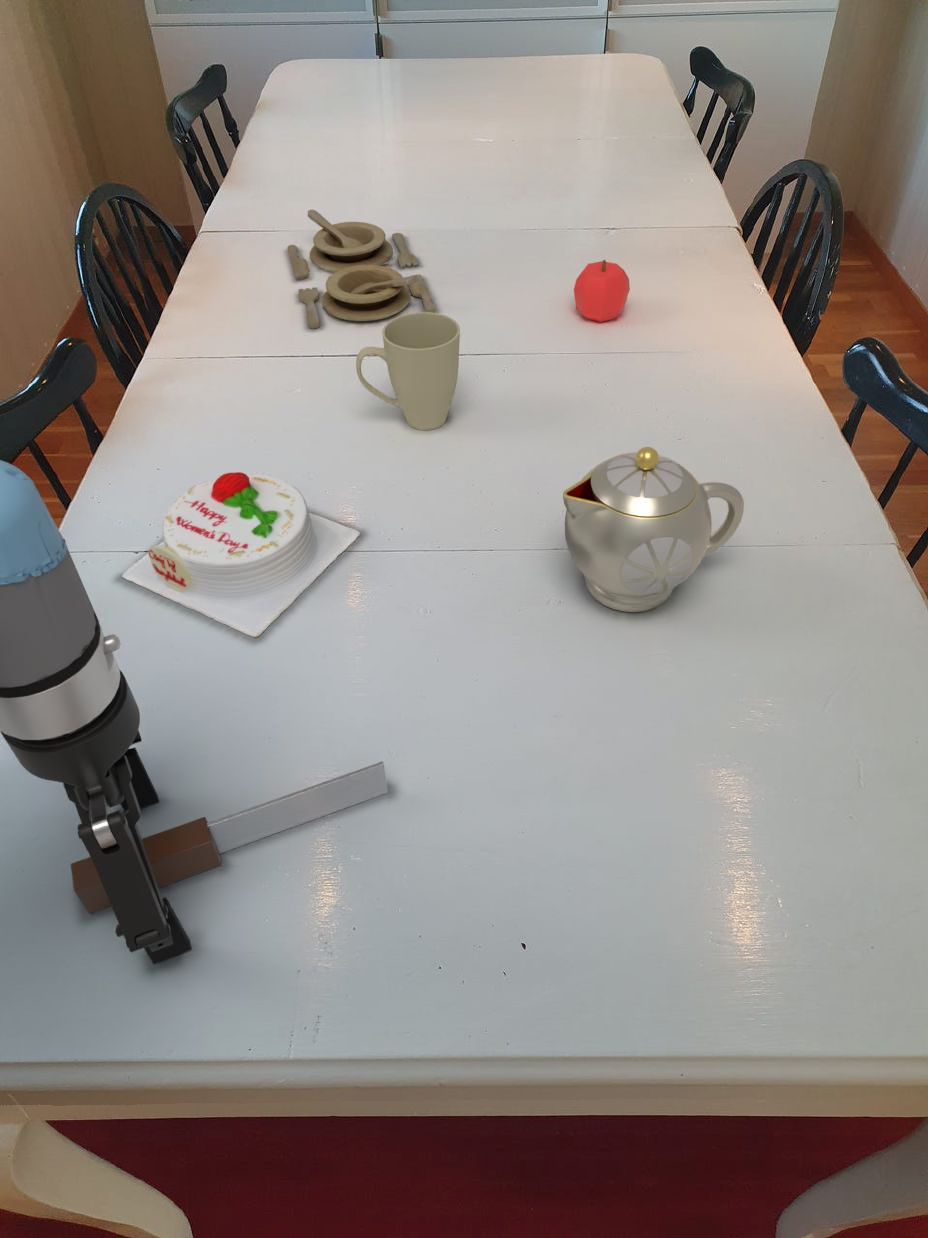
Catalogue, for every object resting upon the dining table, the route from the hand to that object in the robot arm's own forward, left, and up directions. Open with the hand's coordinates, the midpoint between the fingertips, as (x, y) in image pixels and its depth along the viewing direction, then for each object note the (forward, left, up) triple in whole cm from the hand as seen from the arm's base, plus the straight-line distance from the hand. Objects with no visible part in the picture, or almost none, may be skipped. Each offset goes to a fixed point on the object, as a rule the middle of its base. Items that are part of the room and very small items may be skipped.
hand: (156, 873), depth 69 cm
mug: (+41, +50, 0) cm, 65 cm away
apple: (+75, +65, 0) cm, 99 cm away
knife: (+7, 0, 0) cm, 7 cm away
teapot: (+51, +13, 0) cm, 52 cm away
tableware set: (+47, +91, 0) cm, 102 cm away
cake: (+15, +34, 0) cm, 37 cm away
